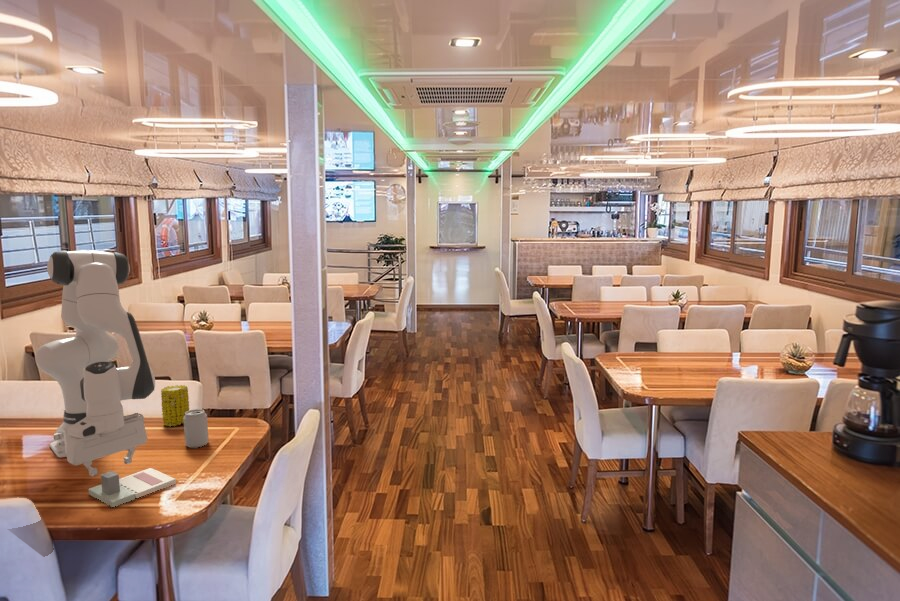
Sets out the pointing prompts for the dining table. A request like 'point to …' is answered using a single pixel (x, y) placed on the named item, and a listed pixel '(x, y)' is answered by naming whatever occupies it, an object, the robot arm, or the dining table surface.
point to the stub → (111, 490)
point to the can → (195, 428)
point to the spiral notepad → (146, 482)
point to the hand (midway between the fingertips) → (111, 469)
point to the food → (174, 404)
